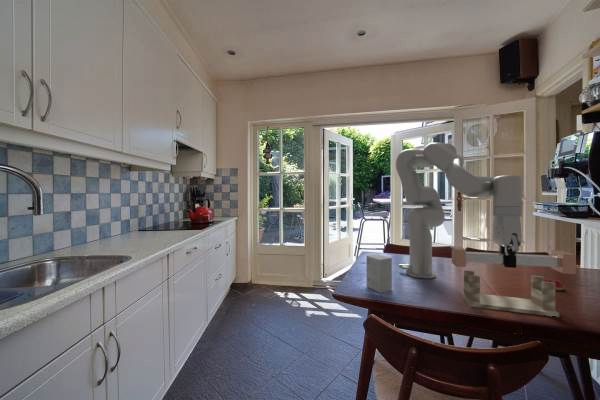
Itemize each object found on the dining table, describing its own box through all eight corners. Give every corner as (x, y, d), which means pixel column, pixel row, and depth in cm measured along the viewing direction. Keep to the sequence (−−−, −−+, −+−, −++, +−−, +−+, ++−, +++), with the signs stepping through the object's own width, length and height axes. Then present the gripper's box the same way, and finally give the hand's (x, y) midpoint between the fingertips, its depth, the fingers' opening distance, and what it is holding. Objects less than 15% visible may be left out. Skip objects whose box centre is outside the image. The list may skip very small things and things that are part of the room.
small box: (392, 290, 99) (392, 258, 99) (380, 293, 96) (380, 259, 96) (377, 283, 106) (377, 253, 106) (365, 286, 103) (365, 255, 103)
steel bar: (455, 266, 87) (455, 249, 87) (451, 262, 93) (451, 246, 93) (575, 274, 76) (575, 254, 76) (562, 268, 82) (562, 250, 82)
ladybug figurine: (529, 282, 107) (529, 274, 107) (562, 288, 101) (562, 279, 101) (531, 287, 102) (531, 278, 102) (566, 293, 95) (566, 284, 95)
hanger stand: (469, 306, 85) (470, 277, 84) (461, 294, 94) (461, 268, 94) (559, 317, 77) (559, 285, 77) (540, 303, 86) (541, 275, 86)
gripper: (485, 210, 93) (485, 259, 94) (504, 213, 78) (504, 271, 78) (509, 210, 91) (509, 260, 91) (534, 213, 76) (534, 273, 76)
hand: (507, 265), depth 85 cm, fingers closed on steel bar, 3 cm apart
